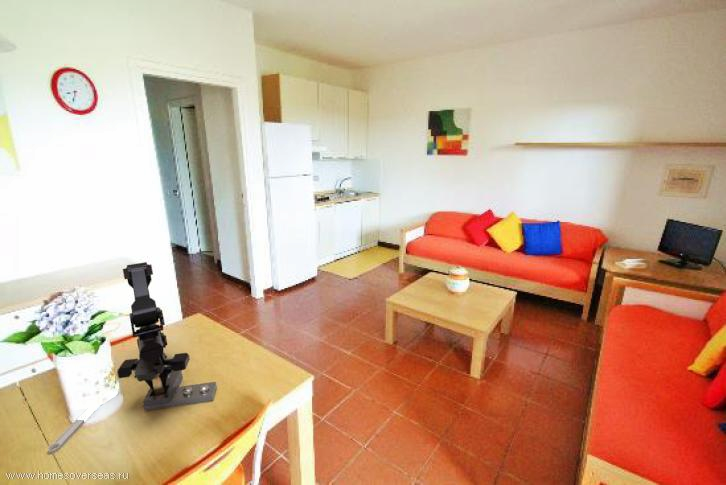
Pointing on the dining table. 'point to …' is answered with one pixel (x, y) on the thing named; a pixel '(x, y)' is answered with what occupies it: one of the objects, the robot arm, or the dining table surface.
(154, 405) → the chain ends
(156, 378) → the pin
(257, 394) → the dining table surface
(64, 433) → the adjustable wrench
